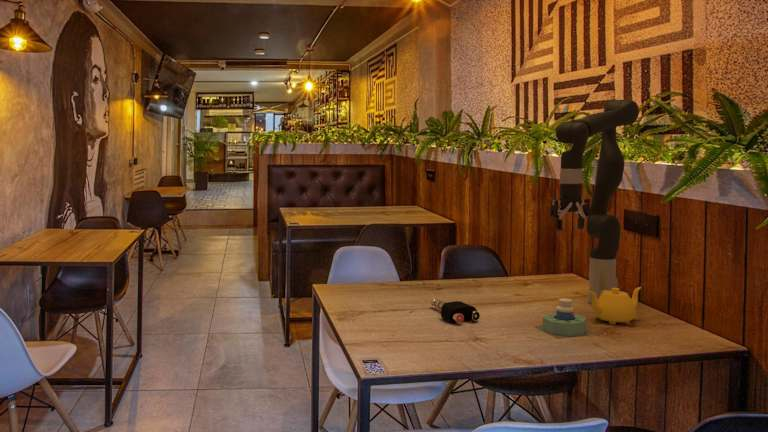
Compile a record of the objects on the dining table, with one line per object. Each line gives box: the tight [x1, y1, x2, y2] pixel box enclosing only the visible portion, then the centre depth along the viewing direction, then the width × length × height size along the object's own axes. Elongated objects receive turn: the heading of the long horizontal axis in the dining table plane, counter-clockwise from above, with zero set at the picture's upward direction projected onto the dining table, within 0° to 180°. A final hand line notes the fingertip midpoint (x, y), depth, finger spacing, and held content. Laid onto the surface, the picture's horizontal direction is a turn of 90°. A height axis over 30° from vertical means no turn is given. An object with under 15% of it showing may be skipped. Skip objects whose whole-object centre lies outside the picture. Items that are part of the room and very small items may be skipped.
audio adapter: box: [430, 297, 481, 325], centre depth 223 cm, size 11×5×25 cm
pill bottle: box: [555, 297, 575, 321], centre depth 203 cm, size 6×5×10 cm
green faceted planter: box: [542, 312, 587, 337], centre depth 203 cm, size 12×12×4 cm
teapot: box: [588, 286, 642, 325], centre depth 214 cm, size 20×15×12 cm
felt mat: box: [532, 324, 597, 340], centre depth 203 cm, size 14×14×1 cm
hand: (569, 229), depth 218 cm, fingers open, 8 cm apart
